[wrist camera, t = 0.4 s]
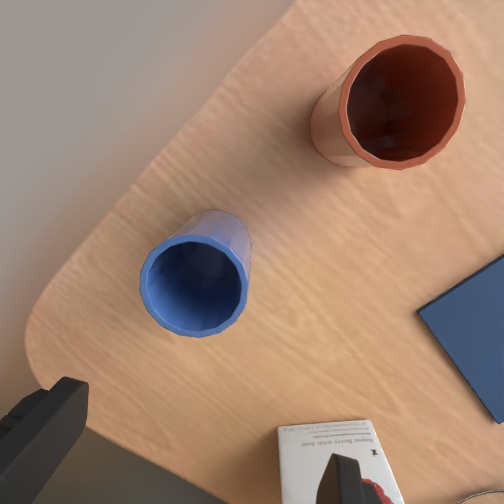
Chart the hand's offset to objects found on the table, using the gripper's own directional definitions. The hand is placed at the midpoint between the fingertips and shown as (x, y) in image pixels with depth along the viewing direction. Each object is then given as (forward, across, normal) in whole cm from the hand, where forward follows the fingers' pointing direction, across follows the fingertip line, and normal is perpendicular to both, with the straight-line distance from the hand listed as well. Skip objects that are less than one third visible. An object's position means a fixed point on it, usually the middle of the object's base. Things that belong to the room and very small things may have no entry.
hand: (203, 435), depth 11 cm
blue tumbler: (+19, +4, +1) cm, 19 cm away
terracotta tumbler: (+21, -4, -10) cm, 24 cm away
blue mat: (+21, -23, +3) cm, 31 cm away
